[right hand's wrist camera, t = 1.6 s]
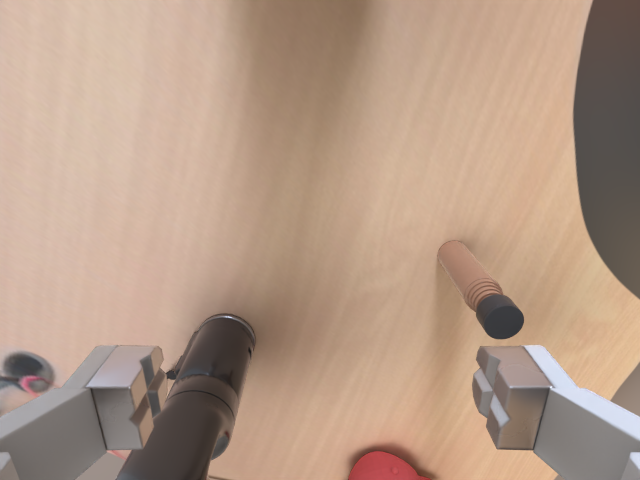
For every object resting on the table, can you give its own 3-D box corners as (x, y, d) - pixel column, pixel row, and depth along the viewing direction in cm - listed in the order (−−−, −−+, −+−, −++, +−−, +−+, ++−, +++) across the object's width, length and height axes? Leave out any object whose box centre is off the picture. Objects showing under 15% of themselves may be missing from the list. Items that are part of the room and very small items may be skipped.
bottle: (473, 255, 62) (531, 322, 45) (448, 273, 63) (496, 345, 46) (456, 234, 61) (509, 295, 44) (431, 253, 62) (473, 319, 45)
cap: (520, 311, 47) (531, 324, 45) (489, 332, 48) (497, 346, 46) (500, 287, 46) (510, 298, 43) (468, 309, 47) (476, 321, 44)
